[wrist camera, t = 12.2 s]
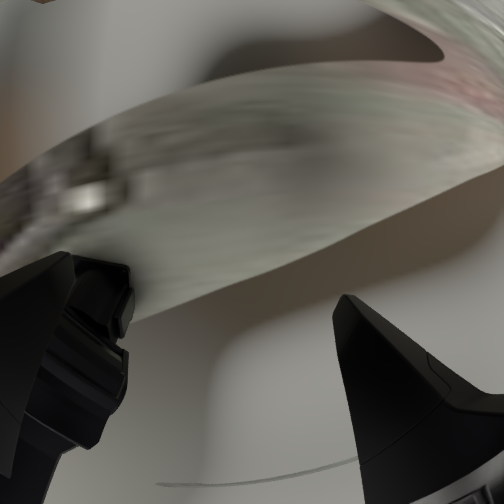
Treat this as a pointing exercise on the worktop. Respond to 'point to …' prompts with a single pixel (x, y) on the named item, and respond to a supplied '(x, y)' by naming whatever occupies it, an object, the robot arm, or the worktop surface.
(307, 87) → the worktop surface
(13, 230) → the worktop surface
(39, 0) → the walnut tray
